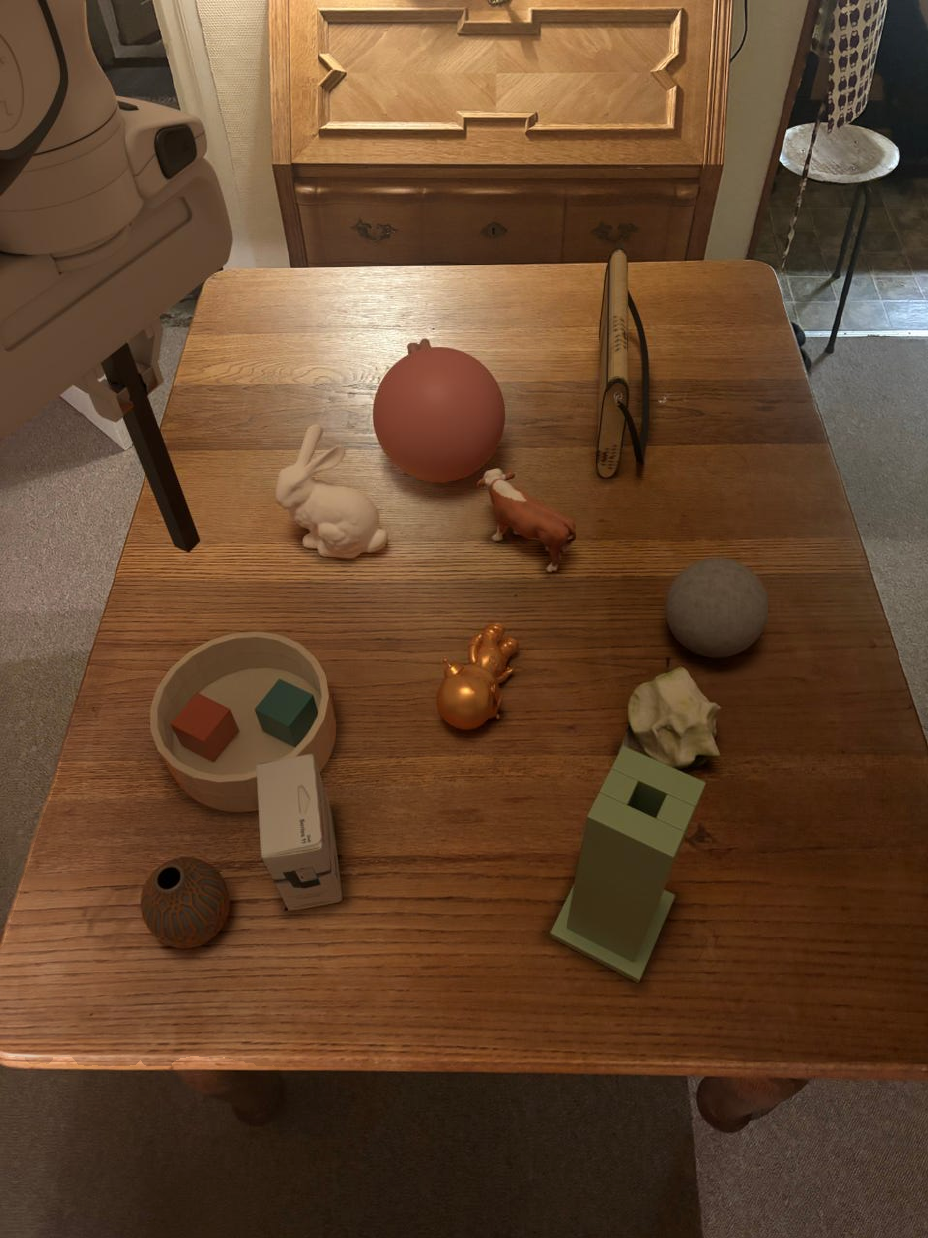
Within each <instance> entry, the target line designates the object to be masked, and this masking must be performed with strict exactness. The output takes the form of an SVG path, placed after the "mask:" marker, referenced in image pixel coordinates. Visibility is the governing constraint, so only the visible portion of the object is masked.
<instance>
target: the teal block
mask: <svg viewBox="0 0 928 1238" xmlns="http://www.w3.org/2000/svg"><path fill="white" fill-rule="evenodd" d="M255 712H256V715H257V717H258V720H259V723H260V725H261V728H262V731H263V732H265V733H267V734H269V735H271V736H273V737H275V738H277V739H279V740H281V741H283V742H285V743H287V744H289V745H291V746H293V747H296V746H297V745H298V744H299V743H300V742H301V741H302V740H303V738H304V737H305V736H306V734H307V733H308V732H309V730H310V729H311V727H312V725H313V724H314V722H315V720H316V718H317V716H318V710H317V706H316V703H315V699H314V695H313V694H311V693H309V692H307V691H304V690H302V689H300V688H298V687H296V686H294V685H292V684H290V683H288V682H286V681H284V680H281V679H279V680H278V681H277V682H276V683H275V684H274V686H273V687H272V688H271V689H270V691H269V692H268V693H267V694H266V696H265V697H264V698H263V699H262V701H261V702H260V703H259V704H258V706H257V707H256V708H255Z"/></svg>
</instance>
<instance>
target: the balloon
mask: <svg viewBox="0 0 928 1238" xmlns="http://www.w3.org/2000/svg"><path fill="white" fill-rule="evenodd" d="M406 349H407V355H405V356H404V357H402V358H400V359H399V360H397V362H395V363H394V364H393V365H392V366H391V367H390V368H389V369H388V371H386V373H385V374H384V376H383V378H381V381H380V383H379V385H378V387H377V390H376V392H375V395H374V399H373V405H372V421H373V430H374V432H375V436H376V439H377V441H378V444H379V446H380V448H381V450H382V451H383V453H384V454H385V456H386V457H387V459H388V460H390V462H391V463H392V464H393V465H394V466H395V467H396V468H398V469H399V470H401V472H403V473H405V474H407V475H409V476H410V477H412V478H415V479H417V480H420V481H424V482H430V483H450V482H454V481H459V480H462V479H464V478H467V477H468V476H470V475H472V474H474V473H475V472H477V471H478V470H480V469H481V468H483V466H484V465H486V464H487V462H489V460H490V459H491V458H492V456H493V455H494V453H495V452H496V450H497V448H498V447H499V445H500V442H501V439H502V437H503V433H504V429H505V423H506V407H505V400H504V395H503V393H502V391H501V388H500V385H499V384H498V381H497V379H496V378H495V377H494V375H493V373H491V371H490V370H489V369H488V368H487V367H486V366H485V364H483V363H482V362H481V361H480V360H478V359H477V358H475V357H474V356H472V355H471V354H468V353H467V352H464V351H462V350H459V349H456V348H451V347H445V346H433V347H432V346H431V341H430V340H429V339H427V338H422V339H421V340H420V342H419V343H418V342H409V343H408V344H407V345H406Z"/></svg>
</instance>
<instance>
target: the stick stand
mask: <svg viewBox="0 0 928 1238" xmlns="http://www.w3.org/2000/svg"><path fill="white" fill-rule="evenodd" d="M619 750H620V749H619ZM706 784H707V782H706V781H704V780H701V779H700V778H697V777H694V776H692V775H690V774H689V773H685V772H683V771H681V770H680V769H674V768H672V767H670V766H668V765H665V764H663V763H661V762H658V761H656V760H654V759H652V758H649V757H647V756H645V755H643V754H640V753H638V752H636V751H634V750H631V749H629V748H627V747H625V746H622V748H621V750H620V751H618V753H617V756H616V757H615V760H614V762H613V764H612V765H611V768H610V770H609V771H608V774H607V776H606V778H605V780H604V782H603V783H602V785H601V787H600V789H599V792H598V793H597V795H596V797H595V799H594V802H593V803H592V806H591V807H590V809H589V811H588V813H587V815H586V819H585V825H584V830H583V836H582V841H581V845H580V852H579V856H578V863H577V868H576V872H575V878H574V883H573V885H572V887H571V889H570V891H569V893H568V895H567V897H566V899H565V901H564V903H563V905H562V908H561V910H560V912H559V914H558V916H557V918H556V920H555V921H554V924H553V926H552V928H551V930H550V932H549V938H551V939H553V940H554V941H557V942H559V943H560V944H562V945H564V946H566V947H568V948H570V949H572V950H574V951H576V952H578V953H580V954H581V955H584V956H585V957H587V958H589V959H591V960H593V961H595V962H597V963H598V964H601V965H602V966H604V967H606V968H608V969H610V970H612V971H613V972H616V973H617V974H619V975H622V976H623V977H625V978H627V979H629V980H631V981H632V982H635V983H637V984H640V982H641V979H642V977H643V974H644V972H645V969H646V968H647V964H648V962H649V960H650V957H651V955H652V954H653V953H652V952H653V950H654V948H655V945H656V943H657V940H658V938H659V936H660V933H661V931H662V928H663V926H664V924H665V921H666V919H667V917H668V914H669V912H670V909H671V907H672V905H673V902H674V900H675V898H676V894H674V893H672V892H670V891H668V890H666V887H667V883H668V881H669V878H670V876H671V873H672V871H673V868H674V866H675V863H676V860H677V858H678V855H679V853H680V851H681V848H682V845H683V843H684V840H685V837H686V835H687V833H688V831H689V828H690V825H691V823H692V821H693V817H694V815H695V812H696V809H697V807H698V805H699V802H700V799H701V797H702V794H703V792H704V789H705V787H706Z"/></svg>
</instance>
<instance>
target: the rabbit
mask: <svg viewBox="0 0 928 1238" xmlns="http://www.w3.org/2000/svg"><path fill="white" fill-rule="evenodd" d="M323 434H324V427H323V426H322V425H321V424H318V423H315V424H312V425H310V426H309V427H308V428H307V430H306V431H305V434H304V437H303V440H302V444H301V447H300V450H299V453H298V456H297V458H296V461H295V463H294V464H291V465H289V466H286V467H284V468H283V469H281V470H280V471H279V473H278V476H277V478H278V479H277V483H276V485H275V493H274V500H275V503H276V504H277V505H279V506H281V508H282V509H285V510H288V513H289V516H290V517H291V519H292V521H294V522H295V523H296V524H297V525H298V526H300V527H301V528H304V529H307V530H308V531H309V533H307V534H305V535H304V536H303V538H302V546H303V547H304V548H306V549H317V552H318V554H319V555H320V557H324V558H341V559H354V558H356V557H358V556H359V555H360V554H362V553H374V552H377V551H379V550H382V549H383V548H384V547H385V546H386V544H387V542H388V538H389V533H388V532H387V530H385V529H383V528H380V511H379V509H378V507H377V506H376V504H375V503H374V501H373V500H372V499H370V498H369V497H368V496H367V495H366V494H365V493H364V492H363V491H361V490H360V489H357V488H355V487H348V486H345V485H337V484H333V483H329V482H327V481H326V480H323V479H315V476H316V475H317V474H320V473H321V472H325V471H329V470H330V469H334V468H336V467H337V466H338V465H340V464H341V462H342V461H343V460H344V458H345V455H346V448H345V446H344V445H342V444H337V445H335V446H333V447H331V448H330V449H328V450H327V451H325V452H323V453H321V454H319V455H317V456H316V457H314V458H313V456H314V454H315V451H316V449H317V446H318V444H319V442H320V440H321V438H322V437H323ZM312 458H313V459H312ZM311 459H312V460H311Z"/></svg>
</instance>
